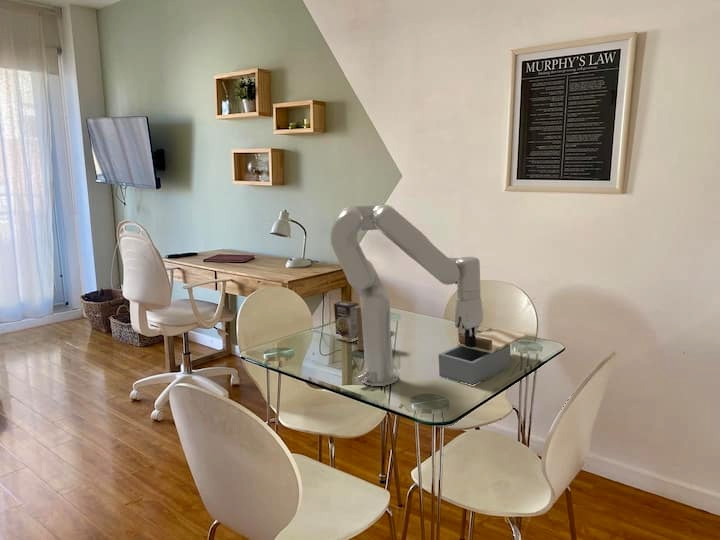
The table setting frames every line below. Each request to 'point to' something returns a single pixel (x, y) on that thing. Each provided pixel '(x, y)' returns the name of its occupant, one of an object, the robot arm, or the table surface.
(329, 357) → the table surface
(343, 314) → the coffee box
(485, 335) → the lid
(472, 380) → the grey open box
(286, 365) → the table surface
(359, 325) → the wooden block
